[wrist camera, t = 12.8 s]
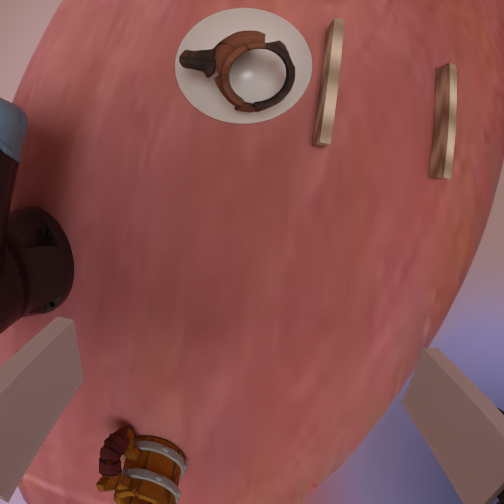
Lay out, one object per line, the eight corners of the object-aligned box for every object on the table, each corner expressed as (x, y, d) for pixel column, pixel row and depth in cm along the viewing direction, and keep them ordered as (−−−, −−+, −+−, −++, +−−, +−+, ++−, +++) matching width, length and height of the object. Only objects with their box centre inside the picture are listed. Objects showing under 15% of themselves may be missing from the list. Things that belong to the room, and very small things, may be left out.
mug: (153, 474, 45) (139, 533, 31) (97, 420, 42) (66, 481, 27) (199, 465, 45) (191, 531, 30) (143, 407, 41) (116, 479, 26)
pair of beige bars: (435, 178, 34) (450, 179, 31) (312, 145, 33) (319, 142, 30) (442, 72, 31) (456, 66, 27) (327, 29, 30) (334, 17, 26)
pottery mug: (283, 35, 30) (310, 38, 24) (273, 105, 36) (295, 124, 30) (181, 27, 27) (182, 25, 21) (176, 101, 33) (176, 119, 27)
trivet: (163, 116, 32) (163, 116, 32) (190, 5, 28) (190, 3, 28) (302, 135, 33) (302, 134, 33) (317, 21, 29) (318, 20, 29)
